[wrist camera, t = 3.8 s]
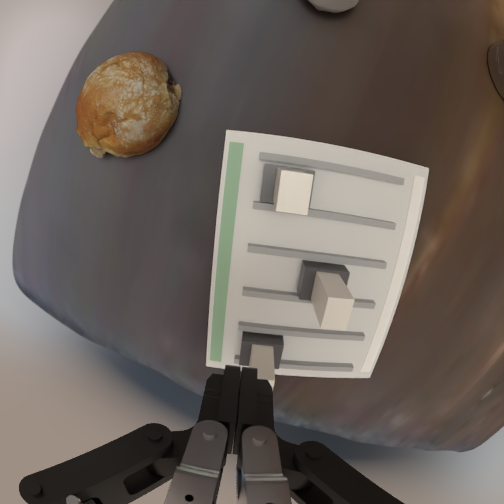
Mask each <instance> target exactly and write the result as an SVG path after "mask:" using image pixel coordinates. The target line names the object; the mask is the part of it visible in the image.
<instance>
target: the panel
mask: <svg viewBox="0 0 504 504" xmlns="http://www.w3.org/2000/svg"><path fill="white" fill-rule="evenodd" d="M264 163H267V164H274V165H282V166H289V167H295V168H302V169H308V170H314V171H315V177H314V184H313V191H312V197H311V204H310V208H308V214H307V215H300V214H293V213H286V212H279V211H276V210H275V206H274V203H270V202H262V201H260V194H261V186H262V178H263V170H264ZM428 173H429V168H426V167H423V166H419V165H416V164H412V163H409V162H405V161H401V160H398V159H394V158H390V157H386V156H382V155H378V154H373V153H369V152H365V151H360V150H356V149H351V148H346V147H341V146H336V145H331V144H326V143H321V142H315V141H309V140H303V139H297V138H290V137H284V136H276V135H269V134H261V133H253V132H243V131H233V130H226V138H225V146H224V155H223V164H222V172H221V182H220V191H219V201H218V211H217V221H216V232H215V243H214V254H213V266H212V279H211V292H210V306H209V321H208V338H207V356H206V366H209V367H216V368H223V369H225V365H233V366H241V370H242V367H249V366H242V365H239V358H240V349H241V341H242V334H243V331H246V332H255V333H264V334H274V335H283V341H284V348H283V352H282V357H281V361H280V366H279V369H274V370H275V374H278V375H291V376H307V377H331V378H370V376H371V374H372V371H373V369H374V367H375V364H376V362H377V359H378V357H379V354H380V352H381V349H382V347H383V344H384V341H385V339H386V336H387V333H388V330H389V328H390V325H391V322H392V319H393V316H394V313H395V310H396V307H397V304H398V301H399V298H400V295H401V292H402V288H403V285H404V282H405V278H406V275H407V271H408V267H409V264H410V260H411V256H412V252H413V248H414V244H415V240H416V236H417V231H418V227H419V222H420V218H421V213H422V208H423V202H424V197H425V191H426V185H427V179H428ZM302 260H308V261H316V262H324V263H332V264H340V265H345V267H346V268H347V269H348V271H349V272H350V275H349V279H348V283H347V288H348V289H349V291H350V293H351V294H352V296H353V297H354V299H355V301H354V304H353V308H352V311H351V315H350V318H349V322H348V325H347V328H346V330H331V329H320V326H319V322H318V319H317V316H316V313H315V310H314V307H313V304H312V301H308V300H299V297H298V293H297V287H298V282H299V276H300V271H301V266H302ZM241 370H240V371H241Z"/></svg>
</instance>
